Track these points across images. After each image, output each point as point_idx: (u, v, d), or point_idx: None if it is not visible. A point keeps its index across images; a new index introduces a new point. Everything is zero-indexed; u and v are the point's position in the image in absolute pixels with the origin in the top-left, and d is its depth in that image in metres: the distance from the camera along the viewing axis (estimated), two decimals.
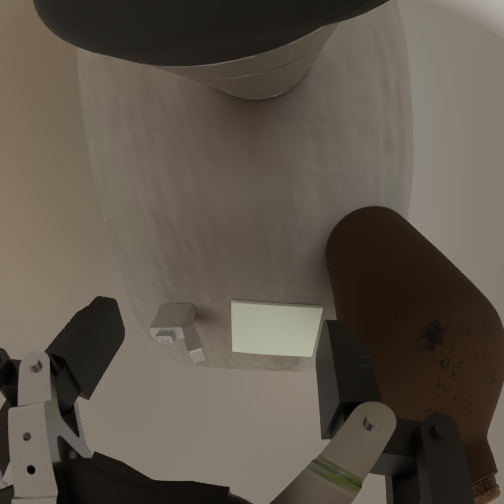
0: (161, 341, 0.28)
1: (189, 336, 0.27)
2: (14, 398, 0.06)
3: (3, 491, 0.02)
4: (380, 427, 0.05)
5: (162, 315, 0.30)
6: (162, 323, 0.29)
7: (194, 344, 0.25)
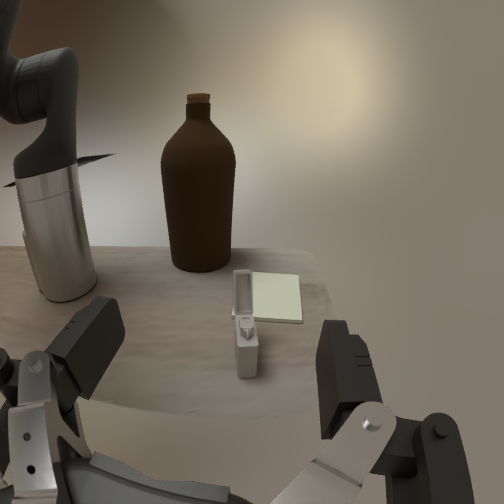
0: (250, 325, 0.23)
1: (233, 295, 0.26)
2: (14, 398, 0.06)
3: (3, 491, 0.02)
4: (380, 427, 0.05)
5: None
6: (236, 340, 0.24)
7: None
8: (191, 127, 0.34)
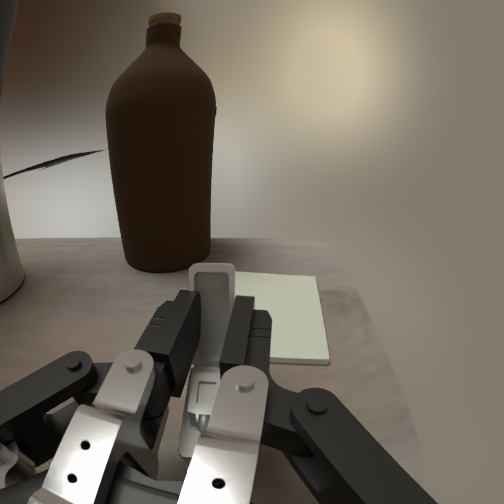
0: None
1: None
2: None
3: (3, 491, 0.02)
4: (247, 389, 0.06)
5: None
6: None
7: None
8: (148, 53, 0.19)
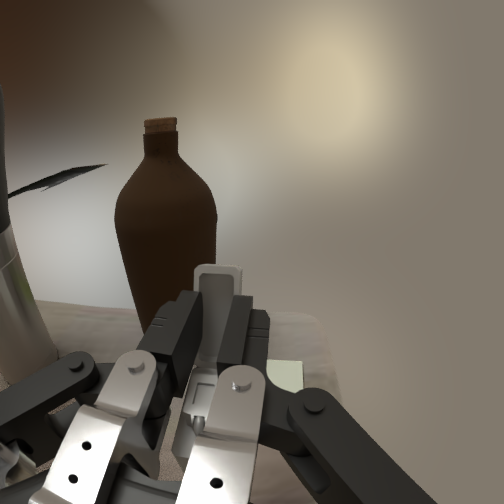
0: None
1: None
2: None
3: (3, 491, 0.02)
4: (244, 389, 0.06)
5: None
6: None
7: None
8: (149, 171, 0.23)
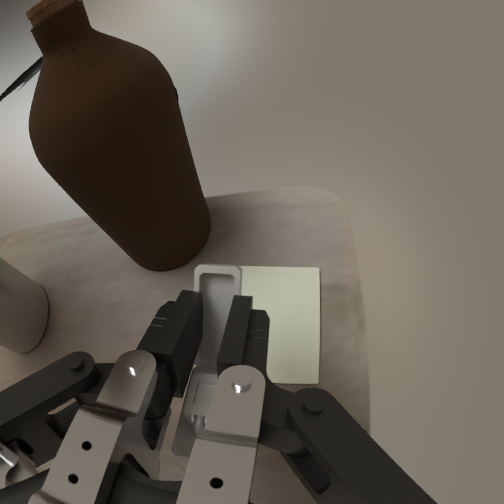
0: None
1: None
2: None
3: (2, 490, 0.02)
4: (244, 389, 0.06)
5: None
6: None
7: None
8: (47, 76, 0.10)
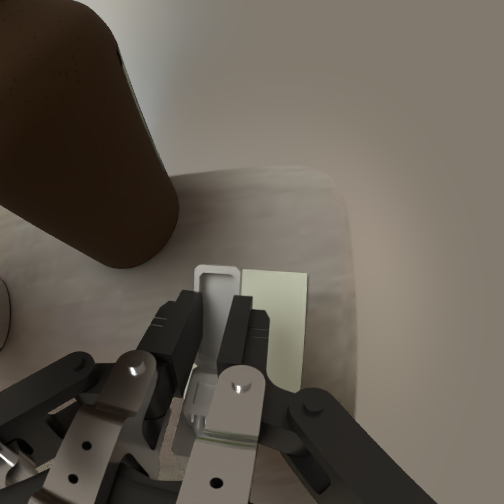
0: None
1: None
2: None
3: (3, 490, 0.02)
4: (244, 389, 0.06)
5: None
6: None
7: None
8: None
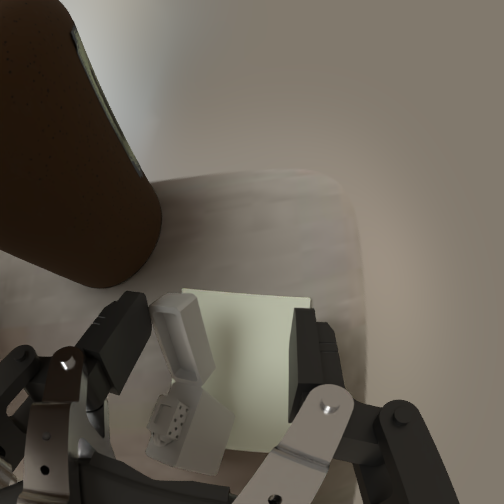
0: (163, 428, 0.09)
1: None
2: (37, 397, 0.06)
3: (3, 491, 0.02)
4: (336, 409, 0.06)
5: None
6: None
7: None
8: None
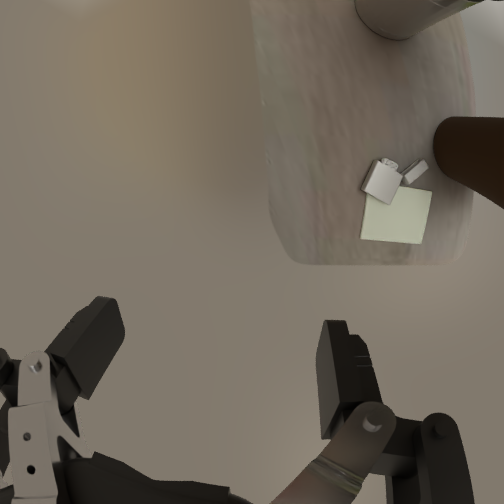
0: None
1: None
2: (14, 398, 0.06)
3: (3, 491, 0.02)
4: (380, 427, 0.05)
5: None
6: None
7: None
8: None
